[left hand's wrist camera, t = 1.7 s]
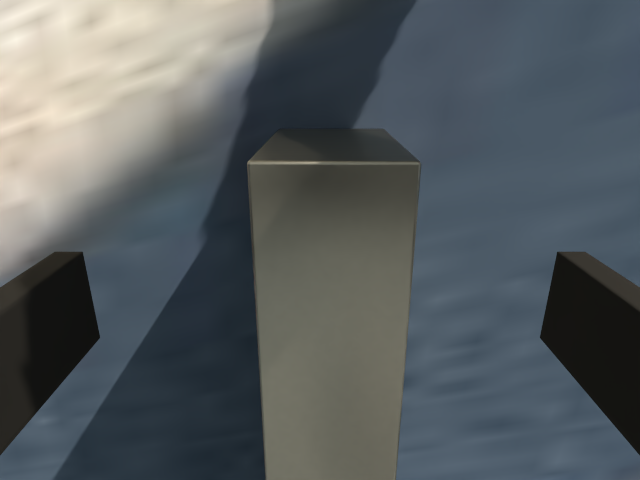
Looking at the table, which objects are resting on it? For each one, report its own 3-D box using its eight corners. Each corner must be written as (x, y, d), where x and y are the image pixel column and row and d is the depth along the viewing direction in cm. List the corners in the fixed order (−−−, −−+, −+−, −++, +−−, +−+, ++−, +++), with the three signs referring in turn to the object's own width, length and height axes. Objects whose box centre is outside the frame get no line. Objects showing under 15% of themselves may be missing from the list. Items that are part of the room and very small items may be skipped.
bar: (278, 128, 18) (246, 161, 11) (384, 128, 18) (422, 161, 11) (291, 532, 27) (277, 701, 20) (364, 533, 27) (378, 703, 20)
